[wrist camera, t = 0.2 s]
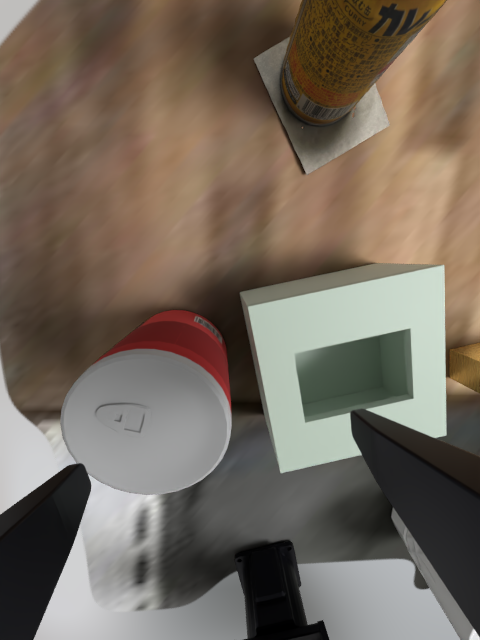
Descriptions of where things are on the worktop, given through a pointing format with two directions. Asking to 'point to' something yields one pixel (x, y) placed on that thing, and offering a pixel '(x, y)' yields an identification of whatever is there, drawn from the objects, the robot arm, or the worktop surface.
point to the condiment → (338, 71)
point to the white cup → (436, 583)
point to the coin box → (348, 356)
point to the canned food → (153, 407)
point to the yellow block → (466, 366)
